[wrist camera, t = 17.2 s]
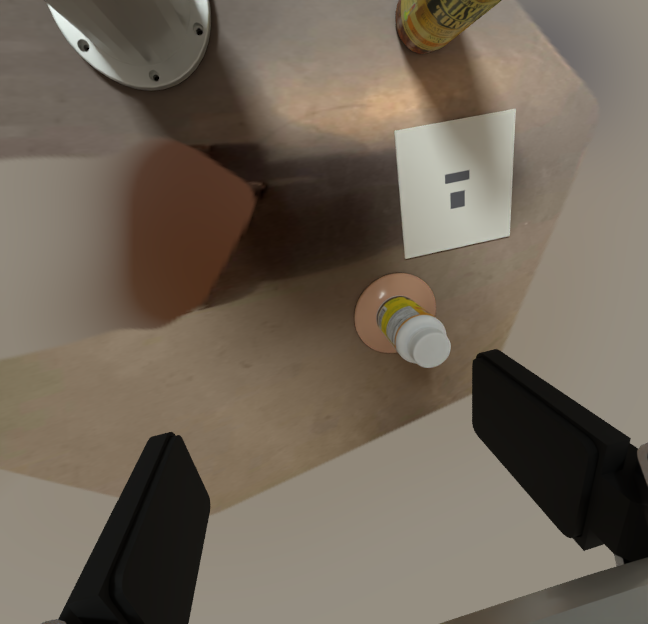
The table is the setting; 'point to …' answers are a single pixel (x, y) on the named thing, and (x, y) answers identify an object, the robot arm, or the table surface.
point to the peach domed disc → (382, 291)
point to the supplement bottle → (413, 332)
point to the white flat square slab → (455, 182)
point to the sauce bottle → (436, 21)
